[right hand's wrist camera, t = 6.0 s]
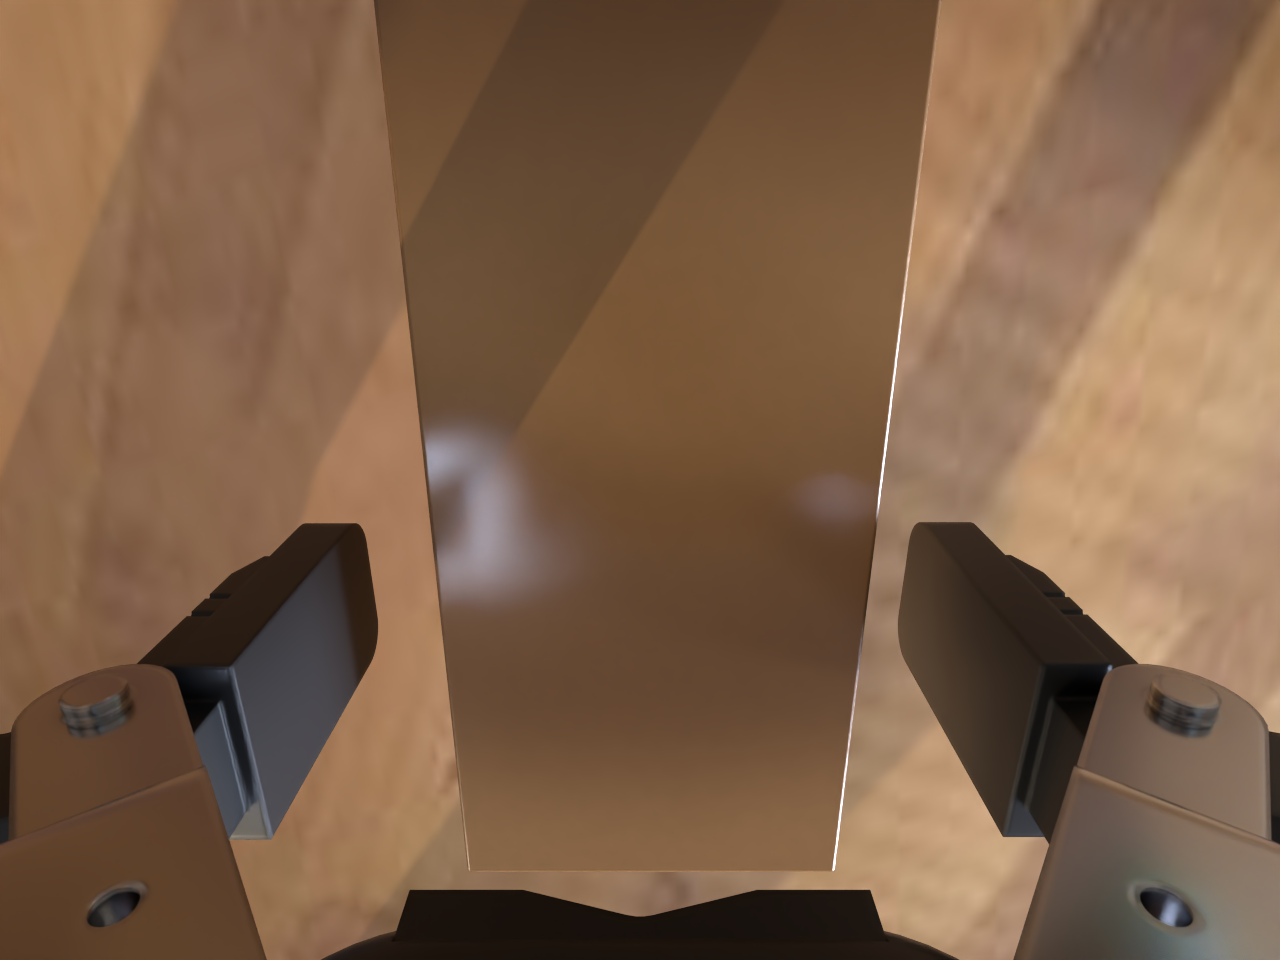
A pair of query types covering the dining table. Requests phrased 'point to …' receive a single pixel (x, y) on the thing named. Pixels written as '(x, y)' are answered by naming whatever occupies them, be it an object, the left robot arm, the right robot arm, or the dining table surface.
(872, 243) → the bar
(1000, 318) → the dining table surface
